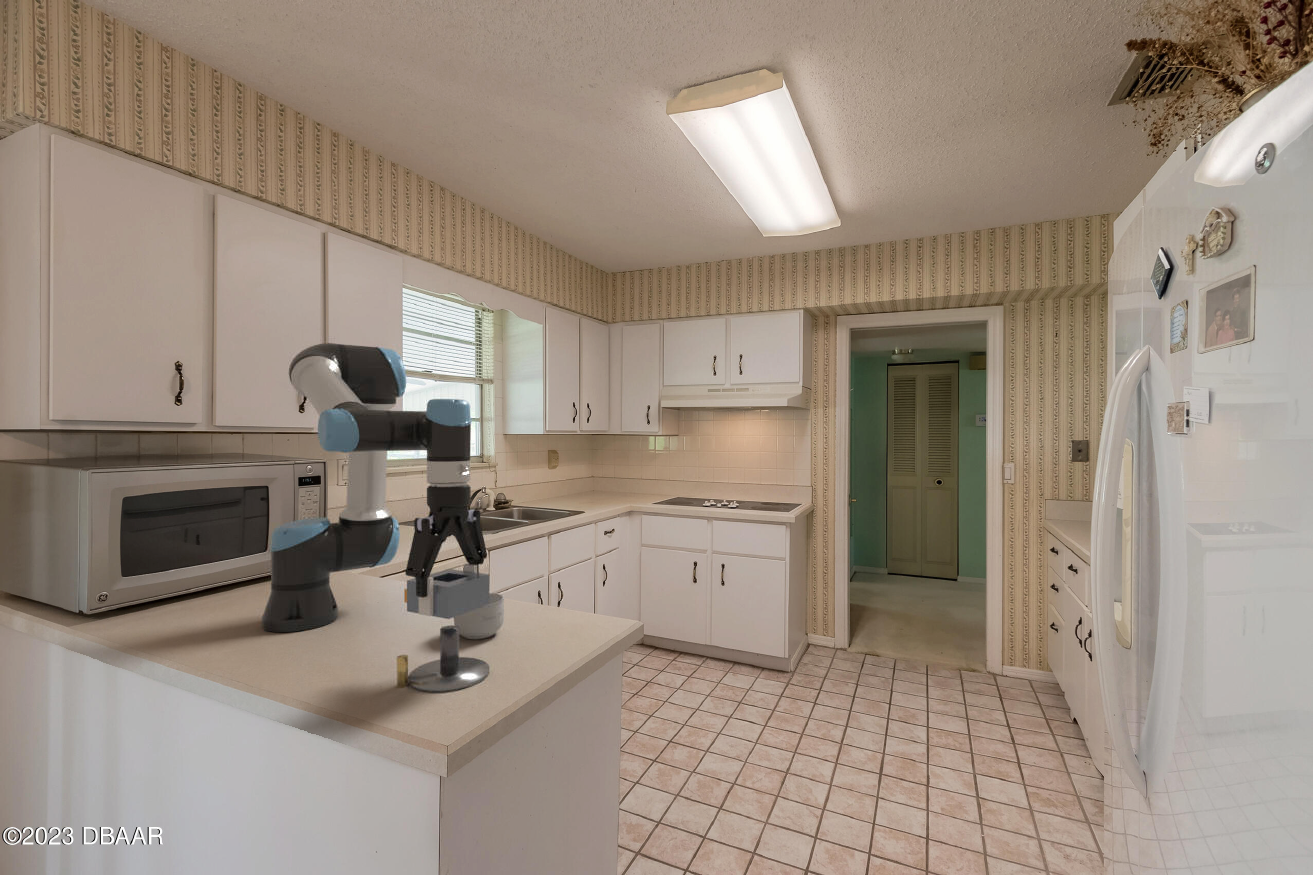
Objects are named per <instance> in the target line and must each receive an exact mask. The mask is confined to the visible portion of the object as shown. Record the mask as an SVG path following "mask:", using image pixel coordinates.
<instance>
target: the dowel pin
mask: <svg viewBox="0 0 1313 875" xmlns="http://www.w3.org/2000/svg"><path fill="white" fill-rule="evenodd" d="M408 676H409V656H408V654H401V655H397V656H396V688H397V687H398V688H406V687H408V686H409V683H408Z"/></svg>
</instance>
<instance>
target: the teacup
mask: <svg viewBox="0 0 1313 875" xmlns="http://www.w3.org/2000/svg"><path fill="white" fill-rule="evenodd" d="M504 599H505V597H504V595H503V594H501V593H498V592H492V591H490V590H489V604H488V605H485V606H483V607H480V608H477V609H475V610H472V611H469V612H467V613H464V614H461V615H459V616H456V617H453V624H454V626H458V627H459V635H461V636H463V638H465V639H466V640H467V639H468V640H481V639H482V640H483V639H486V638H489V637H492V636H494V635H495V634H497V632H498V631H499V630H500V629H501V627H502V626H503V624H504V620H505V609H504V608H505V606H504Z"/></svg>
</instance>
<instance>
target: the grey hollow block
mask: <svg viewBox="0 0 1313 875" xmlns="http://www.w3.org/2000/svg"><path fill="white" fill-rule="evenodd" d="M429 577H432V578H433V615H432V616H431V617H435V618H441V619H447V620H450V619H452V618H453V619H454V617H456V616H459V615H461V614H464V613H467V612H469V611H472V610H475V609H477V608H480V607H483V606H485V605H488V604H489V591H490V574H489V573H481V572H479V573H475V572H468V571H463V570H460V569H453V568H447V569H444V570H441V571H436V572H433V573H430V575H429ZM403 590H404V591H403V593H404V597H403V598H404V603H406V612H409V613H413V614H418V615H420V614H419V597H417V595H416V578H415V577H413V578H411V579H407V580H406V588H404V589H403Z"/></svg>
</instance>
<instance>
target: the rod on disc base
mask: <svg viewBox="0 0 1313 875" xmlns="http://www.w3.org/2000/svg"><path fill="white" fill-rule="evenodd" d="M439 630H440V631H439V632H440V633H439V635H440V636H439V639H440V640H439V648H440V649H439V651H440V654H439V657H440V658H439V659H436V660H433V661H429V662H426V663H423V664H422V665H419V666H417V667H415V668H414V669H413V670H411V671H410V672H409V673H408V686H410V687H411V688H412V689H414V690H417V691H420V692H425V693H447V692H454V691H458V690H464V689H467V688H470V687H472V686H475V685H478V684H479V683H481V682H483V681H484V680H485V679H486V678H487V677H488V676H489V675H490V666H489V664H488V663H487V662H486V661H485V660H482V659H480V658H479V659H478V658H475V657H469V656H468V657H464V656H462V657H461V656H460V653H459V652H460V651H459V650H460V634H459V627H458V626H455V625H446V626H442V627H441V628H440V629H439Z"/></svg>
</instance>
